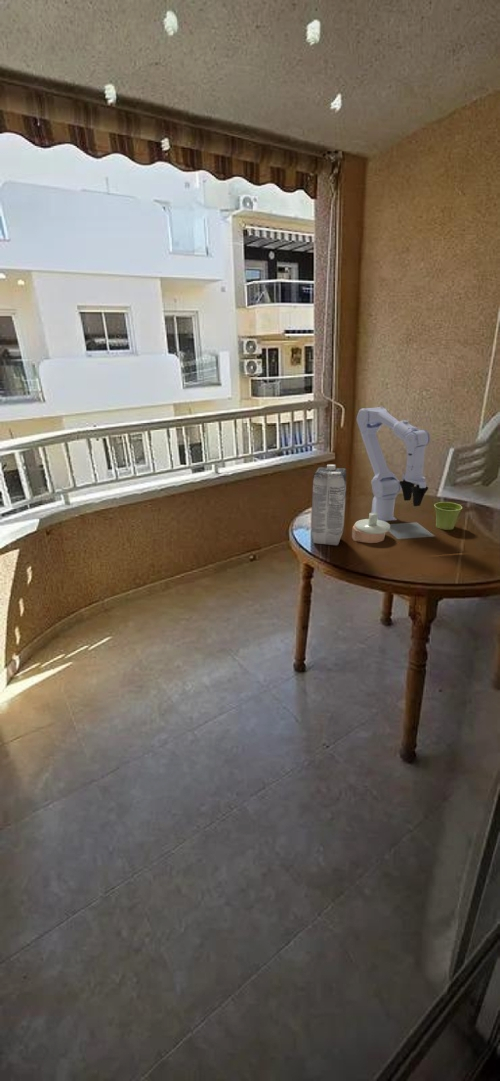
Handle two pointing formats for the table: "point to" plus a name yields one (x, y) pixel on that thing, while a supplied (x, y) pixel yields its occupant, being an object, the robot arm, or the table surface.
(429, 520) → the table surface
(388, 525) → the lid
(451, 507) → the plant pot
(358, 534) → the bowl
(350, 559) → the table surface
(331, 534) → the juice carton
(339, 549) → the table surface
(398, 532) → the mat
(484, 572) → the table surface
